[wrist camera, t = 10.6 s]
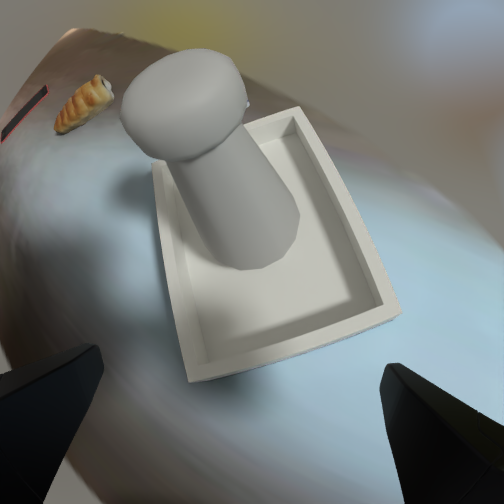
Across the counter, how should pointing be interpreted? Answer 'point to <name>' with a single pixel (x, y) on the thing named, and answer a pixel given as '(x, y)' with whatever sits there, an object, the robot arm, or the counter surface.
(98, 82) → the pastry
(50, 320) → the counter surface
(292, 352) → the tray
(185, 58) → the salt shaker
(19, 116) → the smartphone
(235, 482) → the counter surface
